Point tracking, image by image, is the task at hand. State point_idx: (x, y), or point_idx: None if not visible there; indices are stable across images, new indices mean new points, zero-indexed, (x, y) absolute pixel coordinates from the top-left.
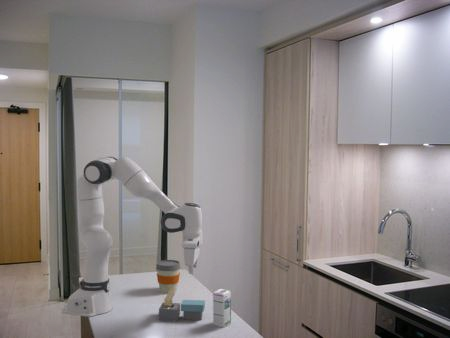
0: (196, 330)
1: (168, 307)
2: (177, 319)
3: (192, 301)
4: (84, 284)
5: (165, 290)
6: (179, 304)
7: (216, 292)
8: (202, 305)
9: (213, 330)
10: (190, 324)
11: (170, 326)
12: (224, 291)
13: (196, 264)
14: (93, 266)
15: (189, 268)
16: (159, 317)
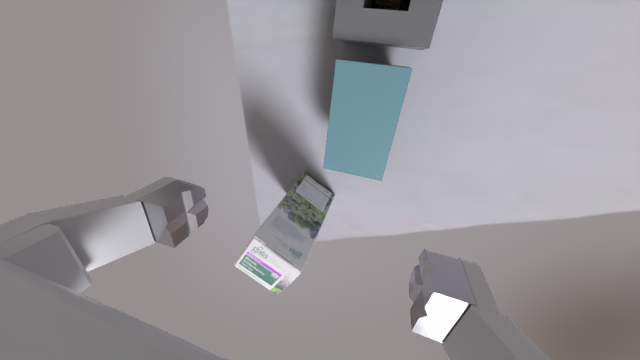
0: (263, 120)
1: None
2: (353, 42)
3: (374, 123)
4: None
5: None
6: (407, 45)
7: (246, 249)
8: (324, 164)
9: (268, 167)
10: (307, 100)
11: (287, 17)
12: (262, 277)
13: (435, 328)
14: None
15: (87, 214)
16: None
